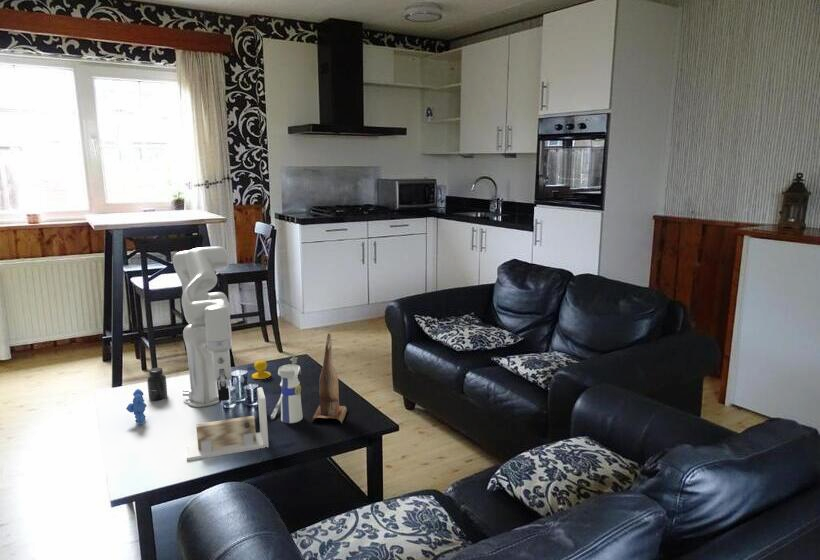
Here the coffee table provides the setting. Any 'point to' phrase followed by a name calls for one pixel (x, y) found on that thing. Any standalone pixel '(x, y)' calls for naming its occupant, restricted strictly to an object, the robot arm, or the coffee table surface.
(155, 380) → the supplement bottle
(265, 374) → the doorknob
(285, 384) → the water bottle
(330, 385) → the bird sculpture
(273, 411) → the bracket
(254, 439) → the door
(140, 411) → the grapes
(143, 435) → the coffee table surface
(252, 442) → the hinge base
